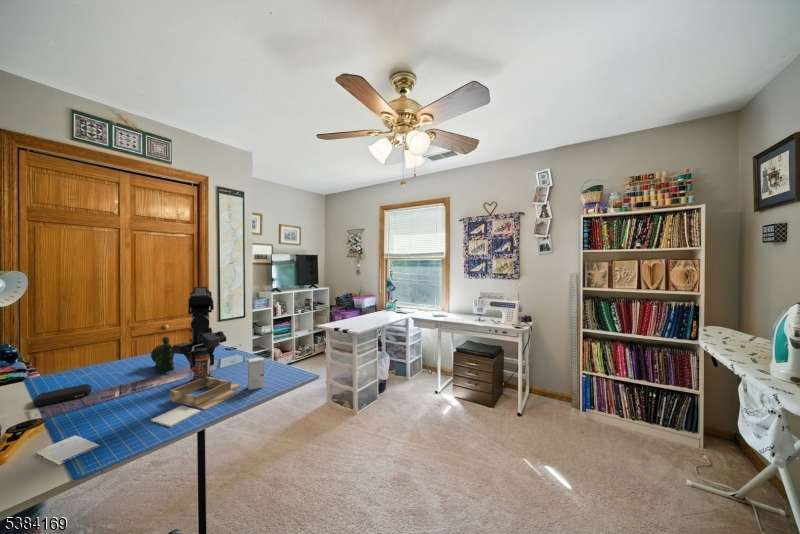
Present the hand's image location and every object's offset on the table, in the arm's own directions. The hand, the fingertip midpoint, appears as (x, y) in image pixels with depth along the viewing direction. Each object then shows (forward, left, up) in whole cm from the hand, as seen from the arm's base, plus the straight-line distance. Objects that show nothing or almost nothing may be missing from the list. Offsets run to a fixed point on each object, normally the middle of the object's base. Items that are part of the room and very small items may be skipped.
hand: (201, 364), depth 117 cm
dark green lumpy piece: (-44, +13, -13) cm, 48 cm away
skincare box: (+14, +14, -13) cm, 24 cm away
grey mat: (+7, -14, -13) cm, 20 cm away
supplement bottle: (0, 0, -5) cm, 5 cm away
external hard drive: (-3, -37, -14) cm, 40 cm away
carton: (+3, +2, -13) cm, 13 cm away
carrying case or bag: (-48, -21, -13) cm, 54 cm away
